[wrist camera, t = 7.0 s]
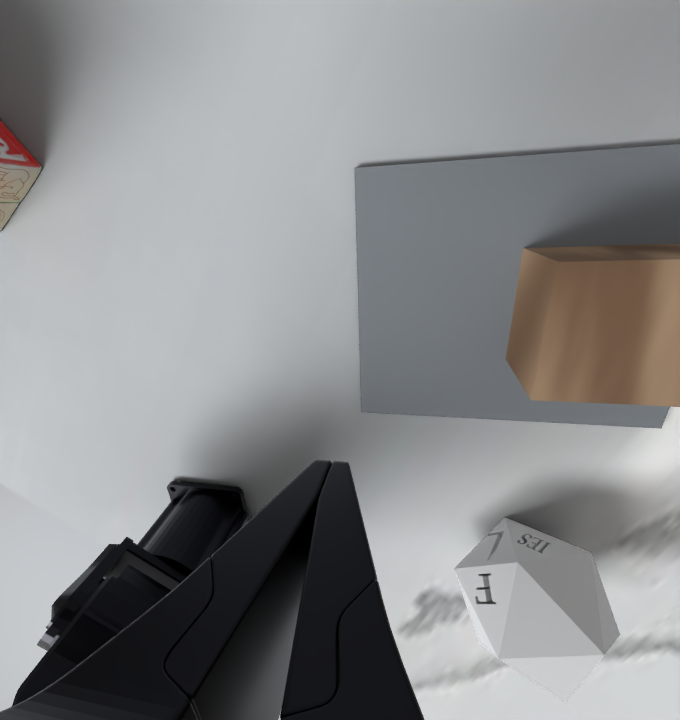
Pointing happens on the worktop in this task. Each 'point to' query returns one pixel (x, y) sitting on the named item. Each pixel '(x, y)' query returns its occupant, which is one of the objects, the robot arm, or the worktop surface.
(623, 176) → the rubber mat
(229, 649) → the robot arm
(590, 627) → the die
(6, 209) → the stack of blocks
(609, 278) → the wooden block
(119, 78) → the worktop surface
